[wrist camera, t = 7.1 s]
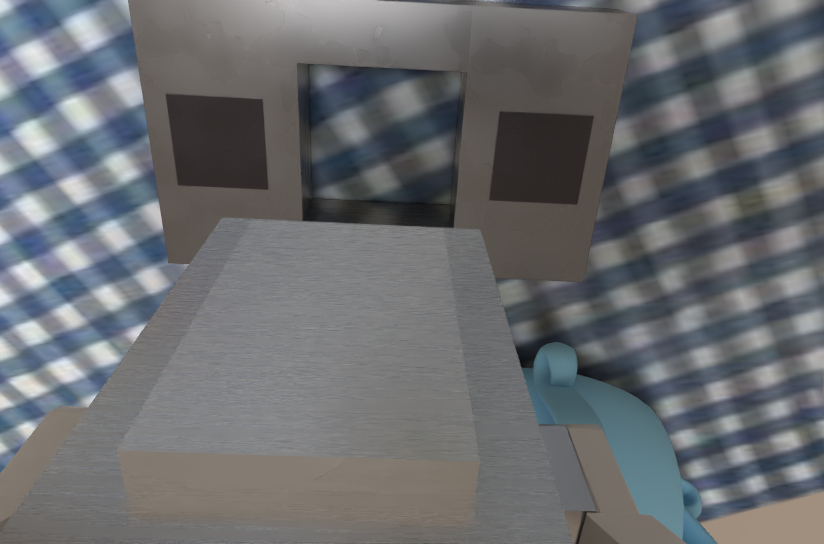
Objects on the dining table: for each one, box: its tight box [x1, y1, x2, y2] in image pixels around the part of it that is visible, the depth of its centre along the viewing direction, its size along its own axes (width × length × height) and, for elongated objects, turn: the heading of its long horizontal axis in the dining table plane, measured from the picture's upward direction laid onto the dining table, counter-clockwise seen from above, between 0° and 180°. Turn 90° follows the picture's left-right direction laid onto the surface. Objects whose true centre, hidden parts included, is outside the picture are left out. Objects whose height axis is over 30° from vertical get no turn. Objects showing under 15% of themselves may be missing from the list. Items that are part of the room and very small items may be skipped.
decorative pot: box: [522, 342, 717, 544], centre depth 32 cm, size 16×16×14 cm
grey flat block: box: [128, 0, 638, 282], centre depth 28 cm, size 20×12×3 cm, turn 87°
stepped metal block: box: [0, 217, 573, 544], centre depth 8 cm, size 4×5×7 cm
